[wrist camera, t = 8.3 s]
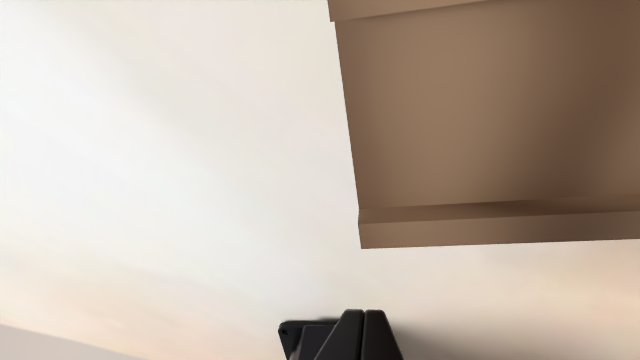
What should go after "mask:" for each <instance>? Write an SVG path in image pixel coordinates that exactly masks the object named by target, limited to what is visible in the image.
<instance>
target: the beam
mask: <svg viewBox="0 0 640 360" xmlns="http://www.w3.org/2000/svg"><path fill="white" fill-rule="evenodd" d="M328 8H329V15H330V22H333V21H335V29H336V37H337V44H338V52H339V59H340V67H341V75H342V82H343V90H344V98H345V105H346V113H347V120H348V128H349V136H350V143H351V151H352V158H353V166H354V174H355V181H356V189H357V197H358V204H359V217H358V228H359V235H360V243H361V249H372V248H400V247H428V246H455V245H483V244H511V243H538V242H566V241H594V240H621V239H640V0H328Z"/></svg>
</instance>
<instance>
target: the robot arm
mask: <svg viewBox="0 0 640 360" xmlns="http://www.w3.org/2000/svg"><path fill="white" fill-rule="evenodd" d="M278 333H279V336H280V339H281V343H282V346H283V349H284V352H285V355H286V359H287V360H404V357H403V355H402V352H401V350H400V348H399V345H398V343H397V341H396V338H395V336H394V334H393V331H392V329H391V326H390V324H389V322H388V319H387V317H386V315H385V313H384V311H382V310H366V311H365V313H364V311H363V310H361V309H347V310H345V311H344V313H343V314H342V316H341V317H340V319H339V321H338V322H337V323H298V322H284V323H281V324H280V326H279V329H278Z"/></svg>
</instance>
